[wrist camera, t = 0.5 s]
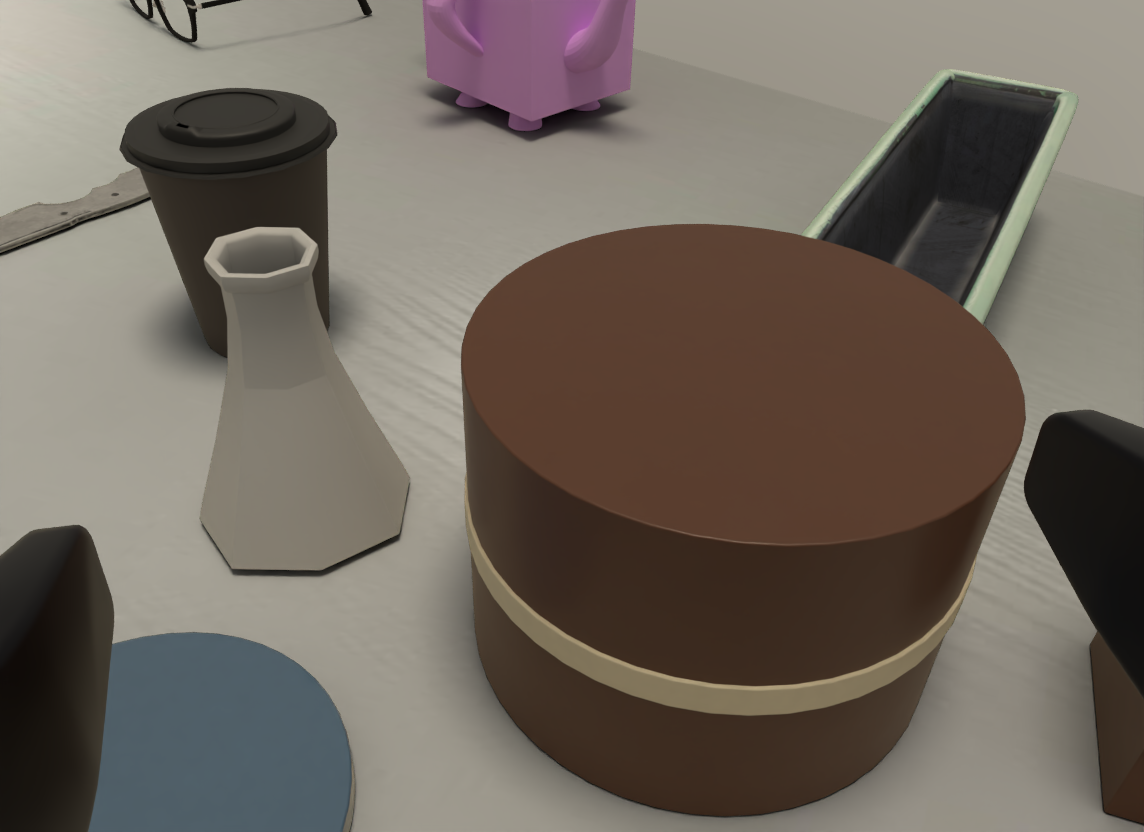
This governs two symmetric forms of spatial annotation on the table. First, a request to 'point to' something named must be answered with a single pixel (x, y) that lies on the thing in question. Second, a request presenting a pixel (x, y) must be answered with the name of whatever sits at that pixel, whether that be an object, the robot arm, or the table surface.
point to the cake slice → (1118, 734)
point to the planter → (953, 183)
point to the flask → (291, 421)
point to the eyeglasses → (193, 8)
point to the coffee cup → (233, 180)
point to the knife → (70, 210)
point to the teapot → (530, 53)
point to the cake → (724, 505)
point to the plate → (219, 741)
